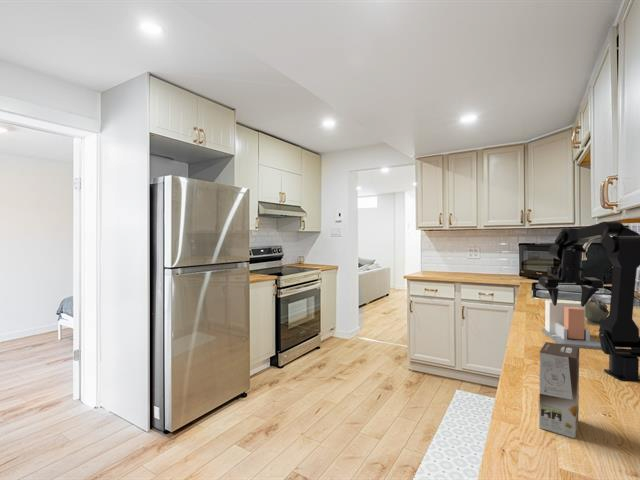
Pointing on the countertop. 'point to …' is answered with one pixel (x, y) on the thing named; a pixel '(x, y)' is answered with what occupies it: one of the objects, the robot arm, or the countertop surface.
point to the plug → (574, 322)
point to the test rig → (559, 332)
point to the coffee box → (559, 388)
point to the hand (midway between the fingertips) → (568, 305)
